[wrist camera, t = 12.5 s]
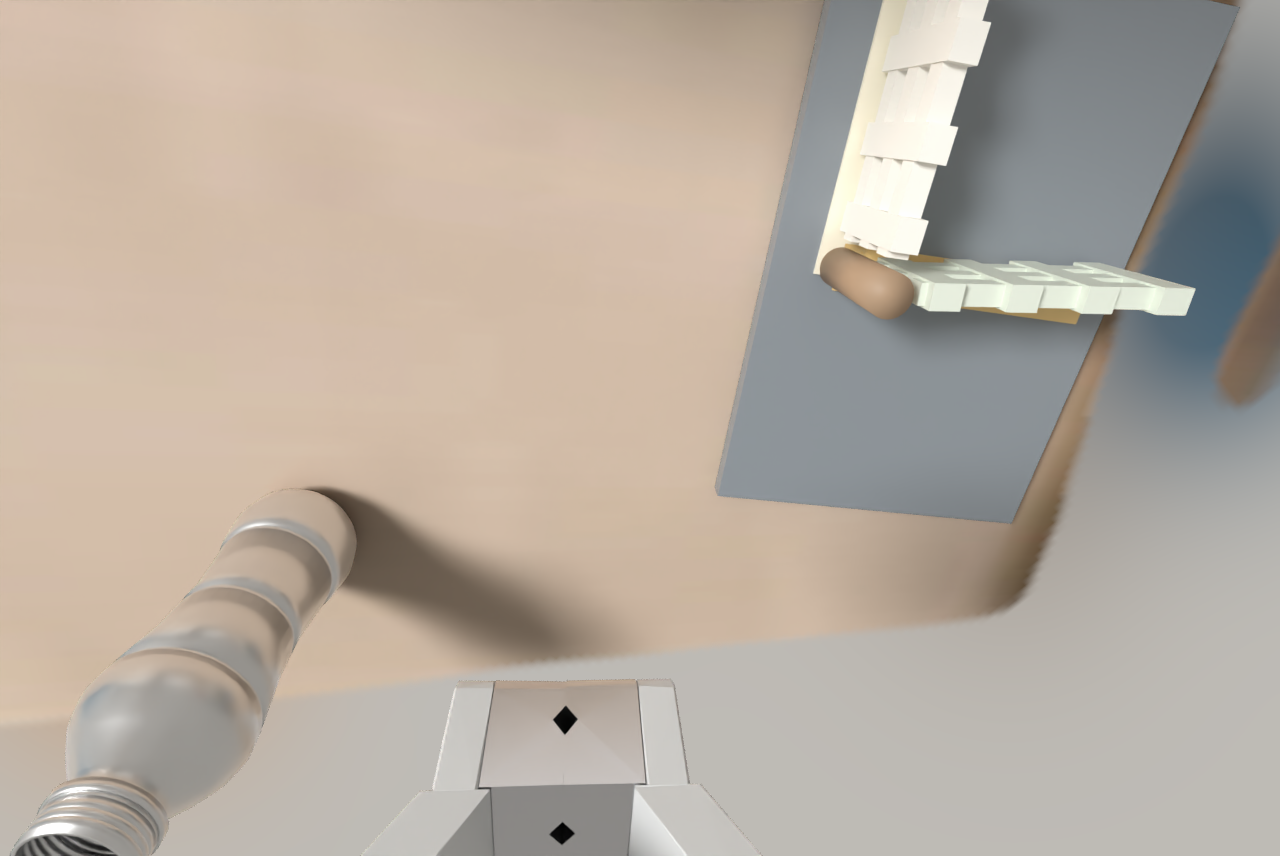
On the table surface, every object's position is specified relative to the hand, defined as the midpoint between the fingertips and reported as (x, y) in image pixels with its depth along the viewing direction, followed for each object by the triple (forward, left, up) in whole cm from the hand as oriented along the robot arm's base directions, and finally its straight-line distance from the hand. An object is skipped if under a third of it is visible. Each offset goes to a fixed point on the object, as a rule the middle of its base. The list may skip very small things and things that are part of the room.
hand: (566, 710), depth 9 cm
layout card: (-3, +19, -28) cm, 33 cm away
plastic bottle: (+16, -14, -28) cm, 35 cm away
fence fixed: (-9, +13, -27) cm, 31 cm away
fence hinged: (-4, +21, -26) cm, 33 cm away
